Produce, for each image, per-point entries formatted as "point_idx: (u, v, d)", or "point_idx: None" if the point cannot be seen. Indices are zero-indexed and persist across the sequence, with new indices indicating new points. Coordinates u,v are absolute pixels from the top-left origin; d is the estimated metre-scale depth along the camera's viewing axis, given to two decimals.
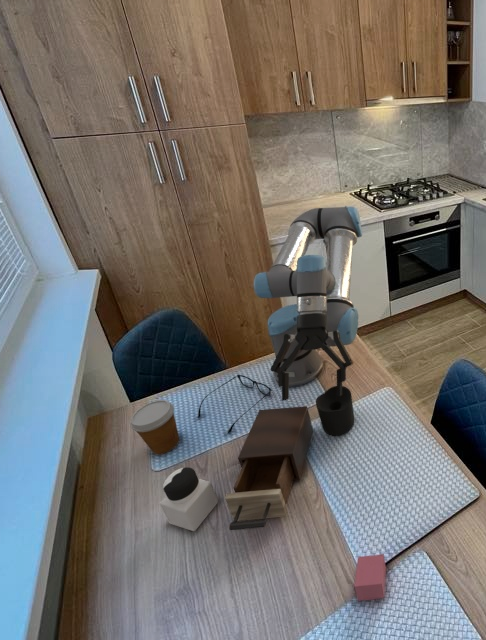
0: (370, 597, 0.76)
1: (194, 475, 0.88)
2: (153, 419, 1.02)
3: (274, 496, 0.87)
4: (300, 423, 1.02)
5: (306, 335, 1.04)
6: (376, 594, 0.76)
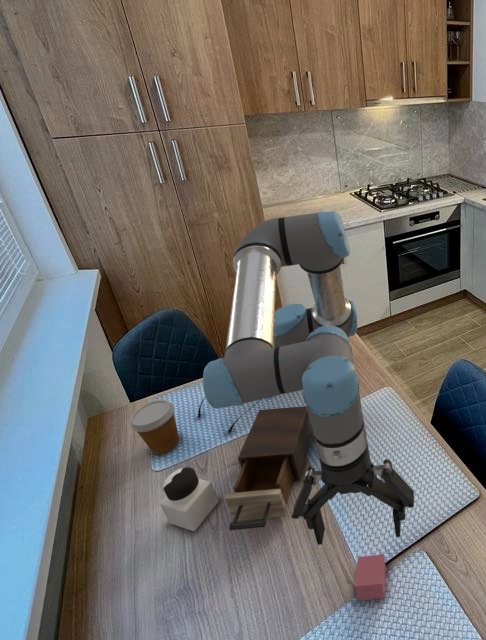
0: (370, 597, 0.76)
1: (194, 475, 0.88)
2: (153, 419, 1.02)
3: (274, 496, 0.87)
4: (300, 423, 1.02)
5: None
6: (376, 594, 0.76)
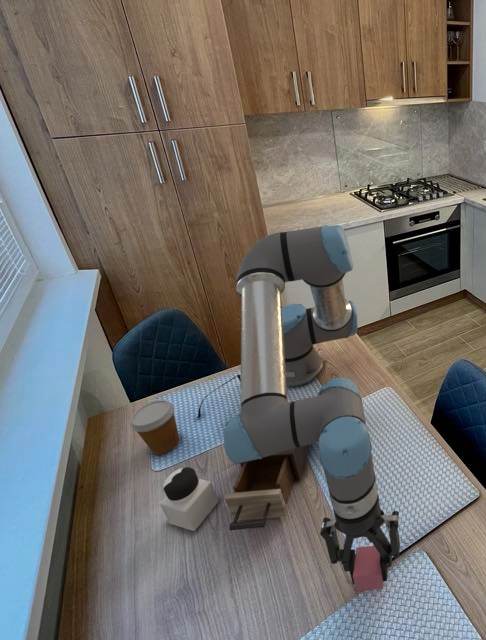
0: (368, 588, 0.75)
1: (194, 475, 0.88)
2: (153, 419, 1.02)
3: (274, 496, 0.87)
4: None
5: None
6: (374, 585, 0.75)
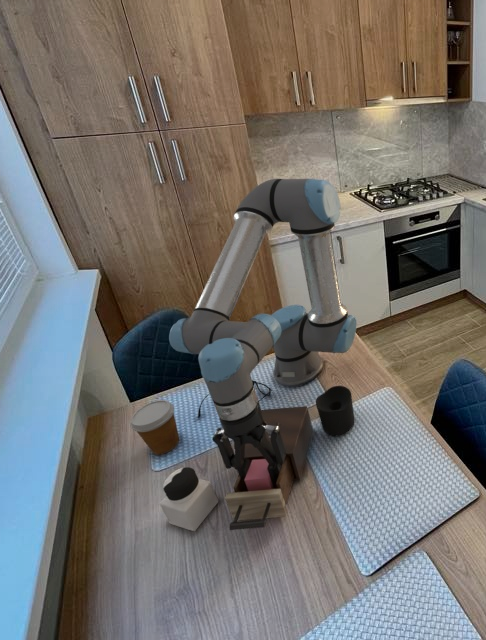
0: None
1: (194, 475, 0.88)
2: (153, 419, 1.02)
3: (274, 496, 0.87)
4: (300, 423, 1.02)
5: None
6: (264, 488, 0.90)
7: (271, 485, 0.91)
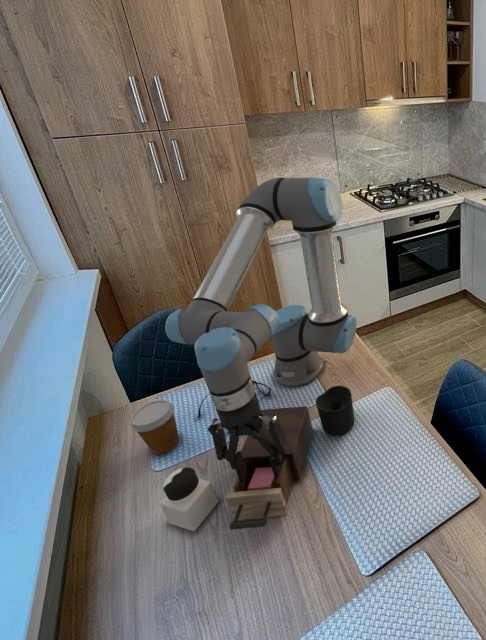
0: None
1: (194, 475, 0.88)
2: (153, 419, 1.02)
3: (274, 495, 0.87)
4: (300, 423, 1.02)
5: None
6: None
7: None
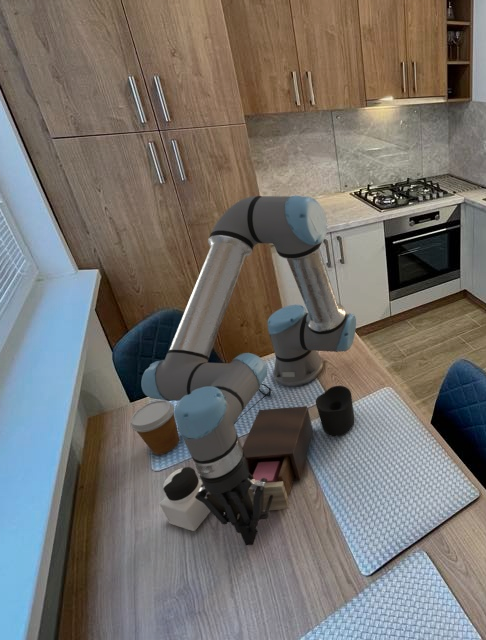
0: None
1: (194, 475, 0.88)
2: (153, 419, 1.02)
3: (276, 489, 0.88)
4: (300, 423, 1.02)
5: None
6: None
7: None
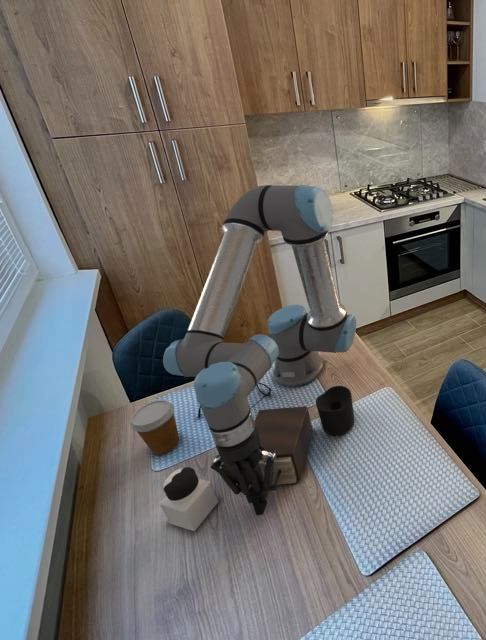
0: None
1: (194, 475, 0.88)
2: (153, 419, 1.02)
3: (285, 463, 0.94)
4: (300, 423, 1.02)
5: None
6: None
7: None
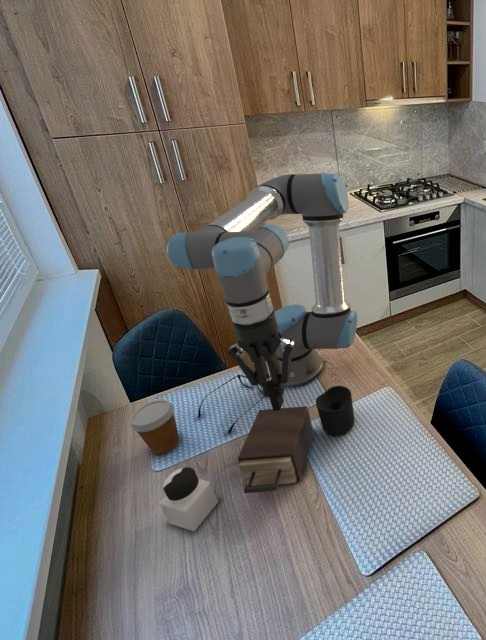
0: None
1: (194, 475, 0.88)
2: (153, 419, 1.02)
3: (285, 463, 0.94)
4: (300, 423, 1.02)
5: (251, 342, 0.80)
6: None
7: None
